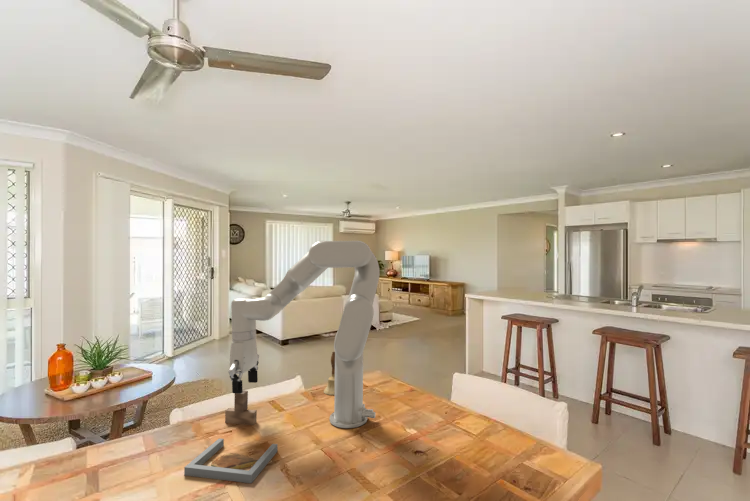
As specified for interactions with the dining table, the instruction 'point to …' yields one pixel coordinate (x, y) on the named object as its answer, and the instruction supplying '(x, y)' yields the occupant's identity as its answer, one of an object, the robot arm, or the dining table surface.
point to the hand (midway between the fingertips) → (245, 387)
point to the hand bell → (331, 378)
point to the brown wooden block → (241, 411)
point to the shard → (234, 461)
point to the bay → (237, 475)
